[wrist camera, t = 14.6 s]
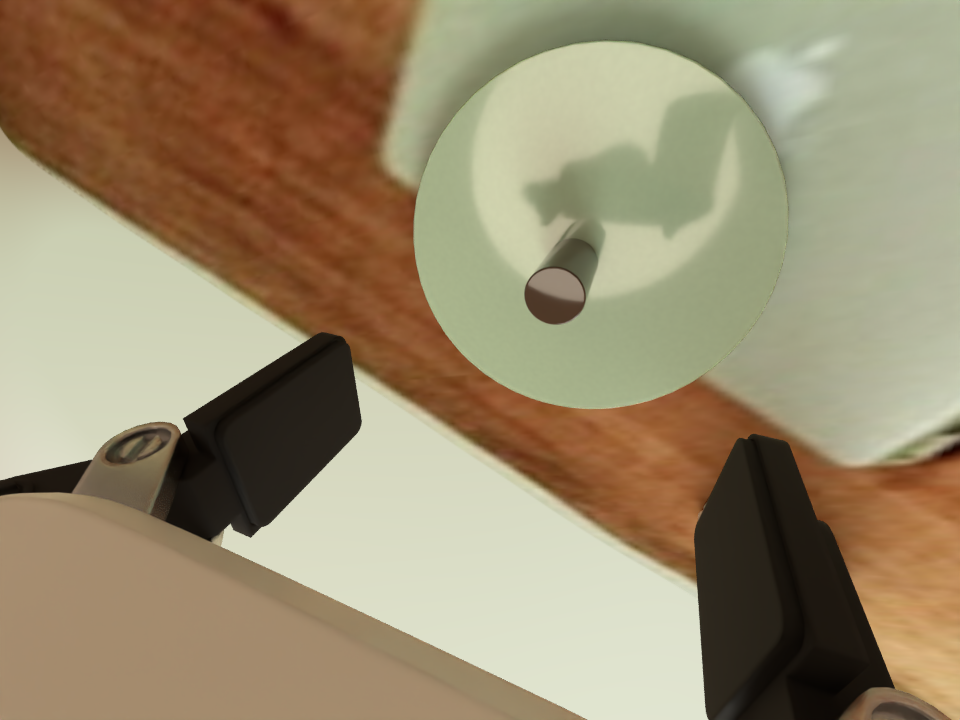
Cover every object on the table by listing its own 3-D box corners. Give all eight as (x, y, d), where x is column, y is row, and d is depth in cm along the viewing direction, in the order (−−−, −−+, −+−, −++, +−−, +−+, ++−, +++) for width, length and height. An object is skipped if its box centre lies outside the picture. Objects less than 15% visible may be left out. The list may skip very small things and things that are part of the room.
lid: (414, 46, 20) (336, 23, 15) (868, 40, 15) (975, 4, 10) (428, 365, 29) (383, 415, 24) (706, 428, 24) (720, 506, 19)
